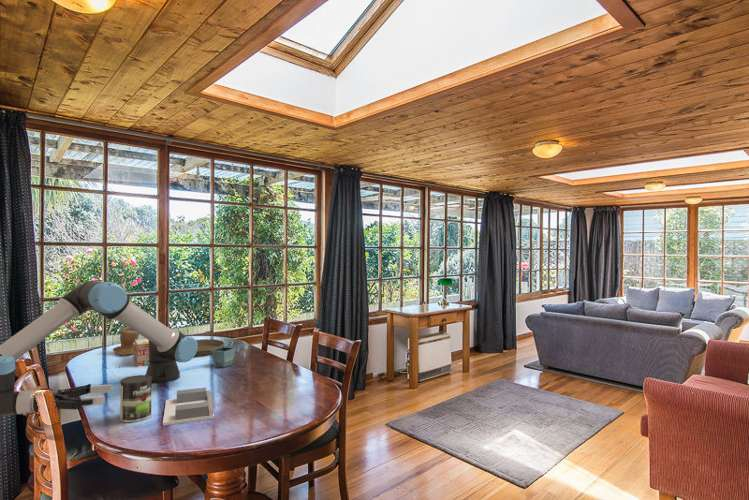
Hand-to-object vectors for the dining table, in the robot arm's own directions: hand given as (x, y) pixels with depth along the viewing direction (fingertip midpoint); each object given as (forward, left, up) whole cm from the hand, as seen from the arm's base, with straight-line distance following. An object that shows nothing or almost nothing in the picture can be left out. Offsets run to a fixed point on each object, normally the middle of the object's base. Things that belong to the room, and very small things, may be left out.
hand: (108, 393), depth 156 cm
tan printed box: (-58, +63, -10) cm, 86 cm away
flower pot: (-12, +73, -10) cm, 75 cm away
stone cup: (-82, +72, -10) cm, 110 cm away
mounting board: (+19, +19, -10) cm, 29 cm away
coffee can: (+6, +6, -10) cm, 13 cm away
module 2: (+26, +14, -9) cm, 31 cm away
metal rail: (+24, +24, -9) cm, 36 cm away
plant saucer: (-48, +92, -10) cm, 105 cm away
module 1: (+13, +26, -9) cm, 31 cm away
